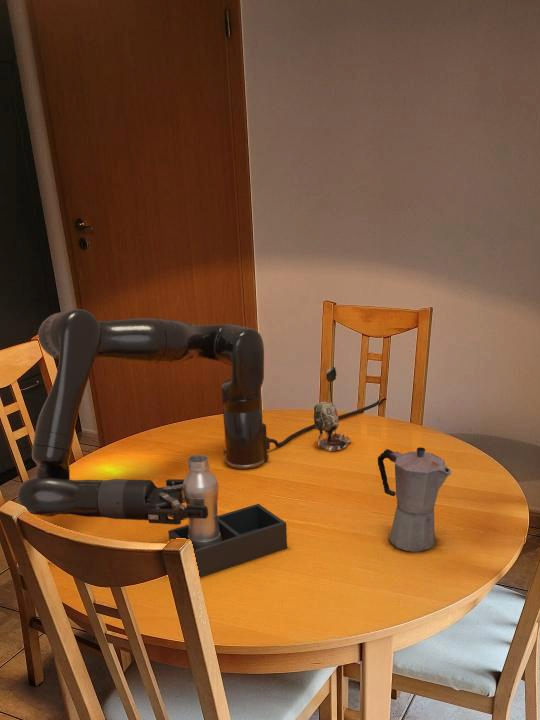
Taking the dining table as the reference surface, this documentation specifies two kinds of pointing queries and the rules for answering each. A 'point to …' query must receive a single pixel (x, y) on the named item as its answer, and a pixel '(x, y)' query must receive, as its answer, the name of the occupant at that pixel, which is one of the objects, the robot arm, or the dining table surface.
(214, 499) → the plastic bottle
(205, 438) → the dining table surface
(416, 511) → the moka pot
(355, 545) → the dining table surface
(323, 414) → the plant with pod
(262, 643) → the dining table surface
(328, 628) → the dining table surface
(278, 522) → the compartment box
